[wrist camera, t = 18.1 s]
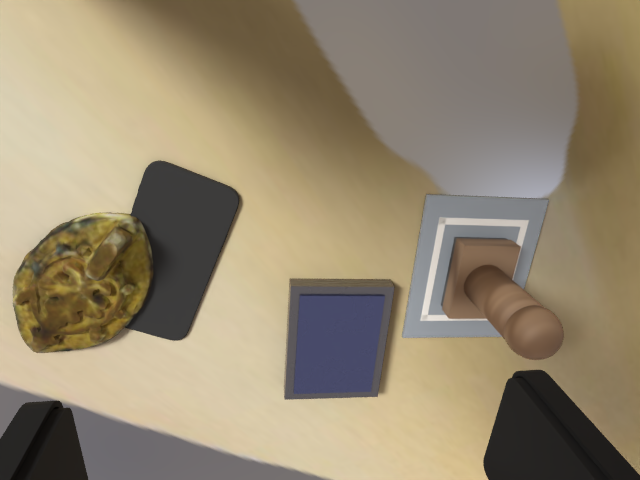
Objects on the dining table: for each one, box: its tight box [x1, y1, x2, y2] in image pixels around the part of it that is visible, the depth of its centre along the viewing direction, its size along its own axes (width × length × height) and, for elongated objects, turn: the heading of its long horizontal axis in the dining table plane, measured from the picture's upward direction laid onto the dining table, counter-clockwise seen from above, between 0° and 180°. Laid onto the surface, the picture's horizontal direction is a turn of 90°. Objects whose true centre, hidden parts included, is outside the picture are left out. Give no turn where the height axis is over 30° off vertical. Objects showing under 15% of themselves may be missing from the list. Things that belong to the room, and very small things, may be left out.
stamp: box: [441, 237, 564, 360], centre depth 34 cm, size 7×5×11 cm
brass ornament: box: [13, 213, 153, 353], centre depth 34 cm, size 9×5×15 cm
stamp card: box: [402, 194, 549, 338], centre depth 39 cm, size 14×11×1 cm
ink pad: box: [284, 279, 395, 399], centre depth 39 cm, size 12×9×2 cm
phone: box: [125, 161, 239, 340], centre depth 35 cm, size 7×1×15 cm
